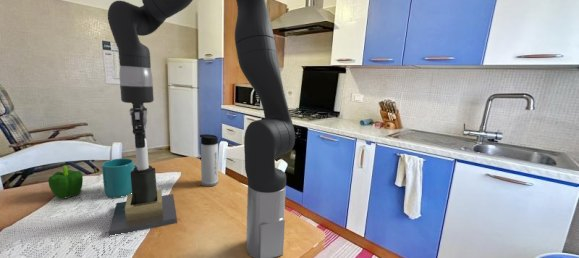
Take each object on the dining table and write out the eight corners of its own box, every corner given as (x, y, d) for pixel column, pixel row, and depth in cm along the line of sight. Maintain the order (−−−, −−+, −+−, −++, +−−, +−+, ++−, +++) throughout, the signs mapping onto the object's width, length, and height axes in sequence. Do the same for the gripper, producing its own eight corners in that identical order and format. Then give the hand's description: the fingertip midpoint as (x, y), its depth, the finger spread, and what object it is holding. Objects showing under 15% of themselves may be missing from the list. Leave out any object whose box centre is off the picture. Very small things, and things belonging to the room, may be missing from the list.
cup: (149, 186, 91) (147, 158, 89) (116, 201, 80) (113, 168, 78) (131, 182, 94) (129, 154, 92) (98, 195, 83) (95, 164, 81)
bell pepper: (79, 199, 80) (75, 170, 78) (46, 202, 76) (41, 173, 74) (88, 188, 87) (85, 162, 85) (59, 191, 84) (55, 163, 82)
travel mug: (200, 181, 98) (199, 133, 94) (216, 179, 101) (216, 132, 97) (201, 187, 93) (200, 137, 89) (219, 185, 95) (219, 136, 91)
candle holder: (176, 222, 70) (176, 205, 69) (108, 237, 62) (106, 217, 61) (173, 198, 84) (172, 183, 83) (117, 207, 76) (115, 191, 75)
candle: (159, 206, 75) (154, 127, 70) (148, 215, 70) (142, 131, 65) (143, 205, 75) (137, 126, 70) (131, 214, 70) (124, 130, 65)
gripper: (152, 86, 61) (156, 150, 64) (152, 83, 73) (155, 138, 77) (116, 85, 57) (122, 153, 61) (123, 82, 70) (127, 139, 73)
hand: (141, 144), depth 69 cm, fingers open, 5 cm apart
